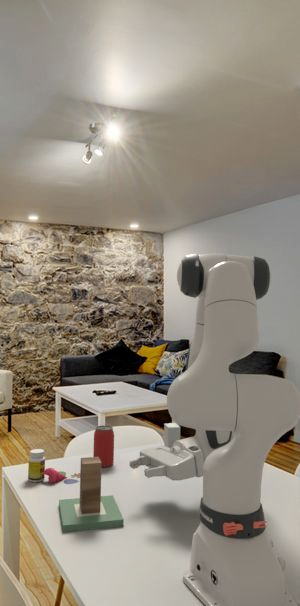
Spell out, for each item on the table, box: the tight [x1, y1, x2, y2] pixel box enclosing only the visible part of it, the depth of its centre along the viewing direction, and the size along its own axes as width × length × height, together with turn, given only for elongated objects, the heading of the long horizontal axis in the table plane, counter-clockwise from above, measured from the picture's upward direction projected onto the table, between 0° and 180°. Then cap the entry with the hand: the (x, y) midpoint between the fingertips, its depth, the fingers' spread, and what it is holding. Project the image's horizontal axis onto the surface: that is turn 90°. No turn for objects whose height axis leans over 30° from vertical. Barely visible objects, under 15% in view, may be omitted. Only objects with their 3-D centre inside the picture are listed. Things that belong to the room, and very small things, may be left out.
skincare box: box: [163, 422, 181, 448], centre depth 154 cm, size 6×4×12 cm
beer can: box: [92, 425, 115, 468], centre depth 149 cm, size 7×7×12 cm
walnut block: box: [79, 456, 102, 514], centre depth 113 cm, size 4×4×12 cm
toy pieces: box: [43, 467, 80, 485], centre depth 137 cm, size 12×11×4 cm
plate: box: [58, 495, 125, 533], centre depth 113 cm, size 14×14×2 cm
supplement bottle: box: [27, 448, 46, 483], centre depth 135 cm, size 5×5×8 cm
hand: (137, 469), depth 115 cm, fingers open, 8 cm apart
